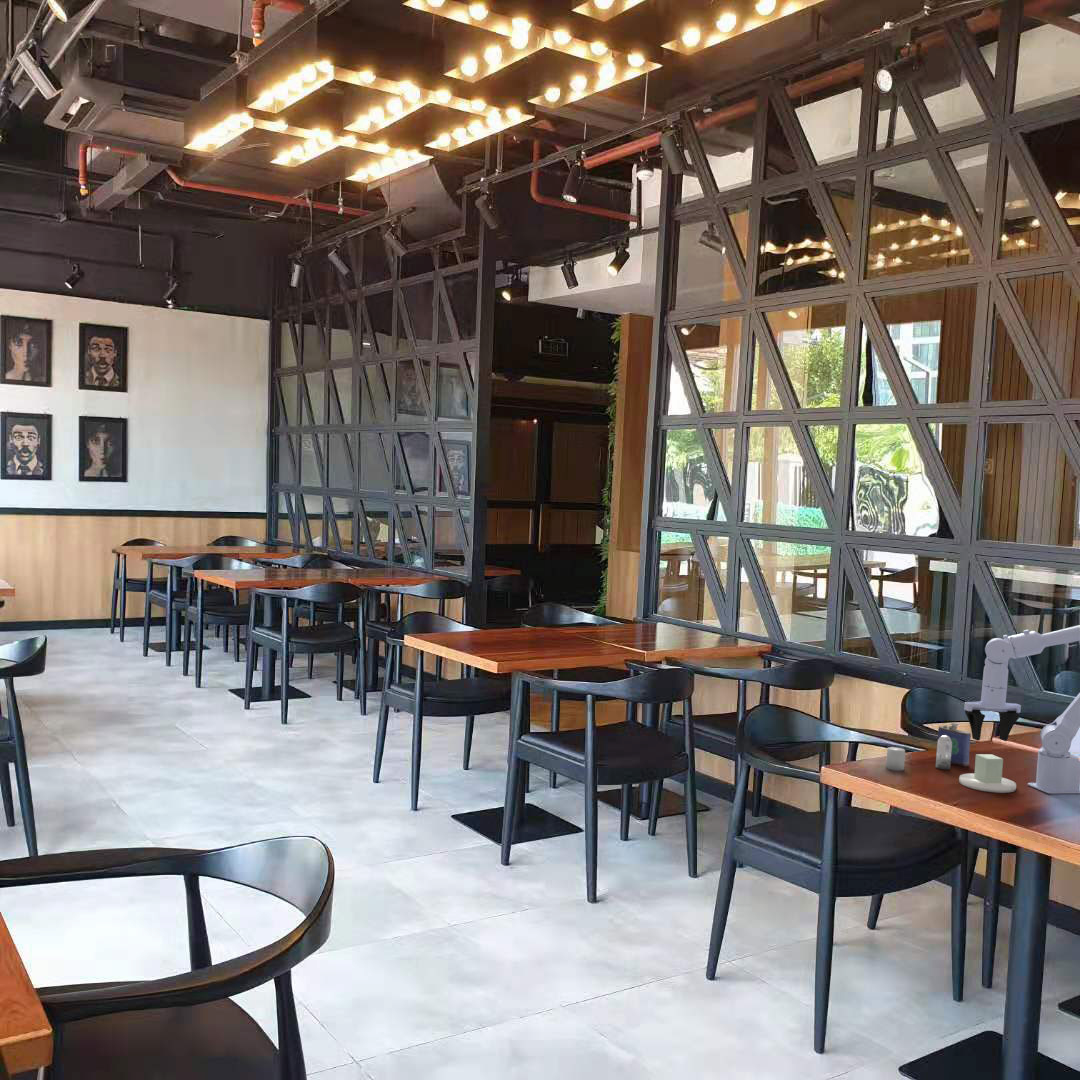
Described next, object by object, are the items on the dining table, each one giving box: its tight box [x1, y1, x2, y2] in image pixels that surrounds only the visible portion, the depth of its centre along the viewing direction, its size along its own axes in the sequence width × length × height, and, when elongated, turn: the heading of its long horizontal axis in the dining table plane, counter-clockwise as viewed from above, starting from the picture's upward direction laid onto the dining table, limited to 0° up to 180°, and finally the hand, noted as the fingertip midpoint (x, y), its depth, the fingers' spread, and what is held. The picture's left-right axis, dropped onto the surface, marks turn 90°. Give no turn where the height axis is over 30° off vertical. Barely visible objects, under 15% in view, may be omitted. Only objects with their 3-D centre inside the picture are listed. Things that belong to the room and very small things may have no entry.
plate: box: [958, 772, 1017, 794], centre depth 267 cm, size 13×13×1 cm
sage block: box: [974, 753, 1004, 783], centre depth 267 cm, size 4×4×6 cm
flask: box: [935, 722, 972, 767], centre depth 289 cm, size 9×3×11 cm, turn 37°
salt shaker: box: [935, 735, 952, 770], centre depth 283 cm, size 4×4×9 cm
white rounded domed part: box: [885, 746, 906, 772], centre depth 279 cm, size 4×4×5 cm
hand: (989, 739), depth 271 cm, fingers open, 7 cm apart
